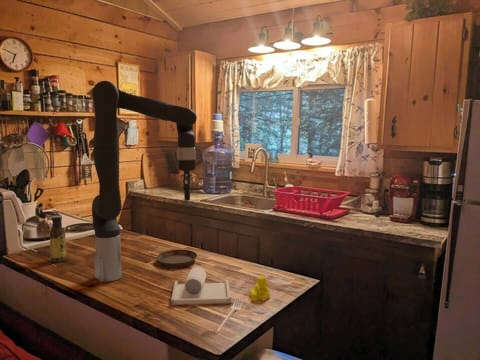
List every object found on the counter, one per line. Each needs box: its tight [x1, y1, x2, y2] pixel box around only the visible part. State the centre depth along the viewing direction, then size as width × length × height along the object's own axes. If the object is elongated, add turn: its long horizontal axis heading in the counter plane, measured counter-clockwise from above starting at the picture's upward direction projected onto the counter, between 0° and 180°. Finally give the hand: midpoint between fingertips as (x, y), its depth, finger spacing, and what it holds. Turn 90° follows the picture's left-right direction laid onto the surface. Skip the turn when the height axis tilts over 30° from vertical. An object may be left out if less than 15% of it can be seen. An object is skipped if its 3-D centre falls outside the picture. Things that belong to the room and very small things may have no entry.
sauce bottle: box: [49, 215, 67, 263], centre depth 169 cm, size 6×6×20 cm
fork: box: [216, 297, 244, 333], centre depth 121 cm, size 3×20×2 cm, turn 161°
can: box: [184, 266, 207, 294], centre depth 140 cm, size 6×6×12 cm
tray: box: [170, 279, 232, 306], centre depth 137 cm, size 16×20×2 cm
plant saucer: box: [156, 248, 198, 268], centre depth 170 cm, size 18×18×3 cm
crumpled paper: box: [249, 274, 271, 302], centre depth 135 cm, size 6×8×8 cm
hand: (187, 200), depth 159 cm, fingers closed
